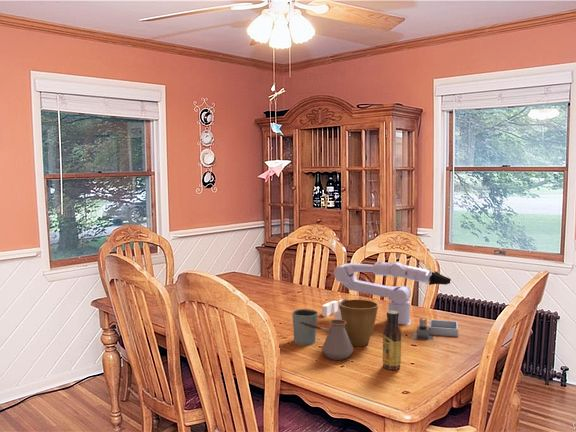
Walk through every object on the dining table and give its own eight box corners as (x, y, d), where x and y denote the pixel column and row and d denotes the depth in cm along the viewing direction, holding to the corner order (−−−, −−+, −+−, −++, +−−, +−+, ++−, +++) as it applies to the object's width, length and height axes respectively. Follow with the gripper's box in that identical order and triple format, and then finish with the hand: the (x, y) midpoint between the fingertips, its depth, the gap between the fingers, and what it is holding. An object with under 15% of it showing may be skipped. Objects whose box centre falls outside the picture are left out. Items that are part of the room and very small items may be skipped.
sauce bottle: (380, 364, 185) (380, 309, 184) (397, 363, 186) (398, 308, 184) (385, 371, 179) (385, 314, 177) (403, 370, 179) (403, 313, 178)
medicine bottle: (355, 326, 230) (355, 299, 229) (350, 330, 224) (350, 303, 223) (339, 324, 233) (339, 297, 232) (334, 328, 227) (334, 301, 226)
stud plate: (412, 340, 211) (412, 332, 210) (413, 334, 218) (413, 326, 218) (432, 341, 208) (432, 334, 208) (433, 335, 216) (433, 328, 216)
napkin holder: (323, 319, 242) (323, 307, 242) (311, 313, 252) (311, 301, 252) (351, 315, 249) (351, 303, 248) (338, 309, 259) (338, 298, 258)
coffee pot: (343, 348, 202) (343, 310, 200) (359, 358, 191) (359, 318, 190) (292, 357, 193) (292, 317, 192) (306, 368, 183) (306, 326, 181)
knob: (416, 337, 212) (416, 320, 211) (417, 334, 216) (417, 317, 215) (428, 338, 210) (428, 321, 210) (428, 335, 215) (429, 318, 214)
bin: (429, 335, 216) (429, 327, 215) (430, 327, 226) (430, 319, 226) (457, 337, 213) (458, 329, 212) (457, 329, 223) (457, 321, 223)
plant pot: (373, 351, 198) (373, 310, 197) (335, 347, 203) (335, 306, 202) (381, 339, 212) (381, 300, 211) (344, 335, 217) (344, 297, 216)
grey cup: (288, 339, 213) (288, 310, 212) (311, 336, 217) (310, 307, 216) (299, 347, 204) (298, 317, 203) (322, 343, 208) (322, 313, 207)
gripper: (416, 265, 223) (448, 272, 217) (422, 265, 236) (453, 272, 230) (412, 281, 223) (445, 289, 217) (418, 280, 236) (449, 287, 230)
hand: (449, 281), depth 224 cm, fingers open, 7 cm apart
